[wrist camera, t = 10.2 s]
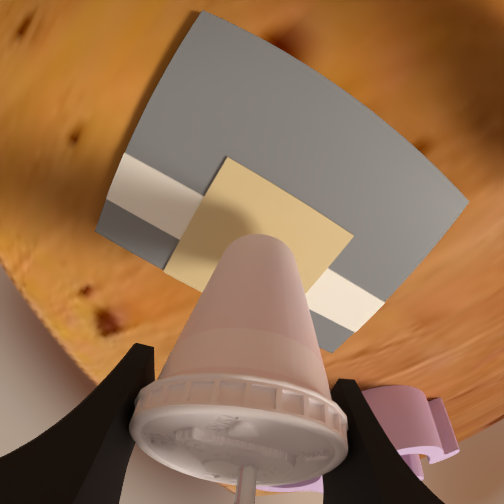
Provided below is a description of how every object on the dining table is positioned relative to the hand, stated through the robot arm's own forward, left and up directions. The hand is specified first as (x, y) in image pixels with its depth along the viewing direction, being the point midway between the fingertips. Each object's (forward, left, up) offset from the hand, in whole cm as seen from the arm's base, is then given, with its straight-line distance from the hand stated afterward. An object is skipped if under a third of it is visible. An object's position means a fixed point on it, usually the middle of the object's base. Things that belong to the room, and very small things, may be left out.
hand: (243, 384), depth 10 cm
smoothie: (0, -1, -7) cm, 7 cm away
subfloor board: (0, -3, -10) cm, 10 cm away
